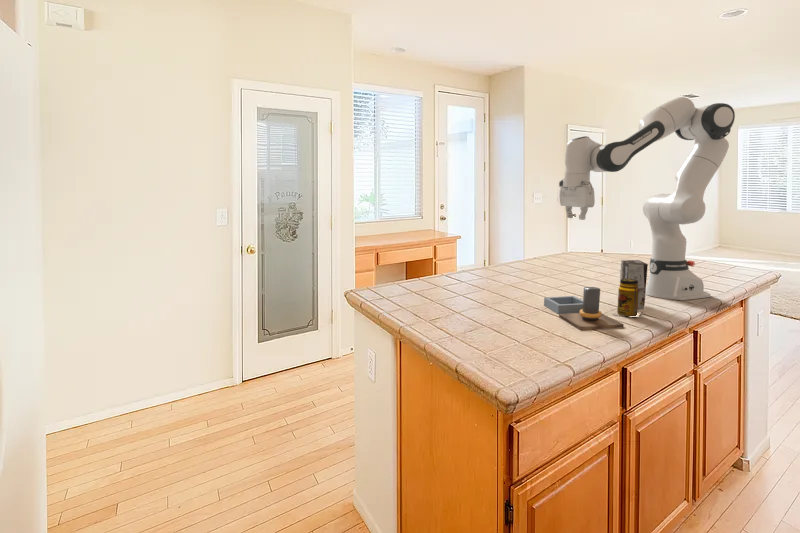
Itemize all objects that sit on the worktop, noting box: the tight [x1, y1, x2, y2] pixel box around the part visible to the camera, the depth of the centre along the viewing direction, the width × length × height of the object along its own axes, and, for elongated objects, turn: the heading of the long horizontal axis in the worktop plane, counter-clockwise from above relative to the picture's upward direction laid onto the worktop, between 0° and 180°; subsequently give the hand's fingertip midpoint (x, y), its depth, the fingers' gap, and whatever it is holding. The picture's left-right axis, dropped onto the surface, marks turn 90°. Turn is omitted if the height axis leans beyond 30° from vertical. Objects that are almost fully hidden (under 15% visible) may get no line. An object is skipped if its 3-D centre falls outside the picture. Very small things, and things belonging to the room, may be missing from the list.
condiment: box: [613, 279, 644, 317], centre depth 148 cm, size 7×8×12 cm
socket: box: [543, 295, 583, 315], centre depth 157 cm, size 11×11×3 cm
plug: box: [580, 286, 602, 321], centre depth 141 cm, size 6×6×10 cm
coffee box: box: [619, 259, 649, 310], centre depth 158 cm, size 9×6×16 cm
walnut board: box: [558, 312, 625, 331], centre depth 142 cm, size 14×14×1 cm
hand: (575, 218), depth 168 cm, fingers open, 8 cm apart
